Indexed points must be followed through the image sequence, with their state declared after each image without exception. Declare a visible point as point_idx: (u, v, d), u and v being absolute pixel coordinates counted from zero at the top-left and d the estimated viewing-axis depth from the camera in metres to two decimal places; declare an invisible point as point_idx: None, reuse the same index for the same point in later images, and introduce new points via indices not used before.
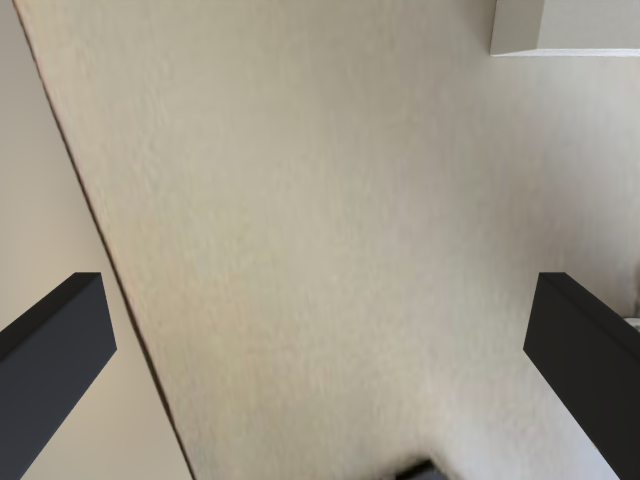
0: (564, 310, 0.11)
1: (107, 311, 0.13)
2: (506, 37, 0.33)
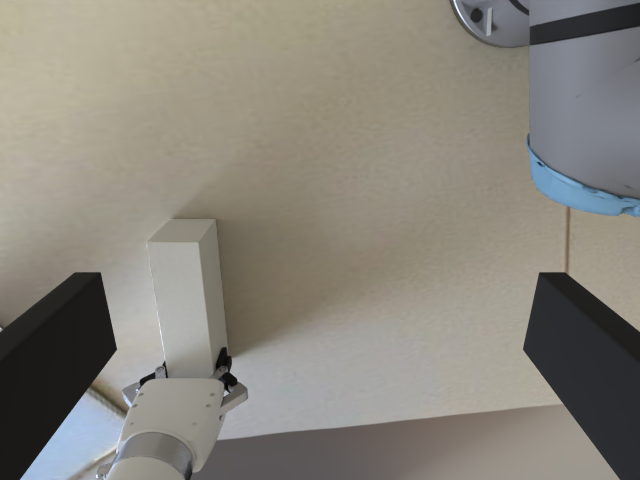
0: (564, 309, 0.11)
1: (107, 311, 0.13)
2: (171, 226, 0.52)
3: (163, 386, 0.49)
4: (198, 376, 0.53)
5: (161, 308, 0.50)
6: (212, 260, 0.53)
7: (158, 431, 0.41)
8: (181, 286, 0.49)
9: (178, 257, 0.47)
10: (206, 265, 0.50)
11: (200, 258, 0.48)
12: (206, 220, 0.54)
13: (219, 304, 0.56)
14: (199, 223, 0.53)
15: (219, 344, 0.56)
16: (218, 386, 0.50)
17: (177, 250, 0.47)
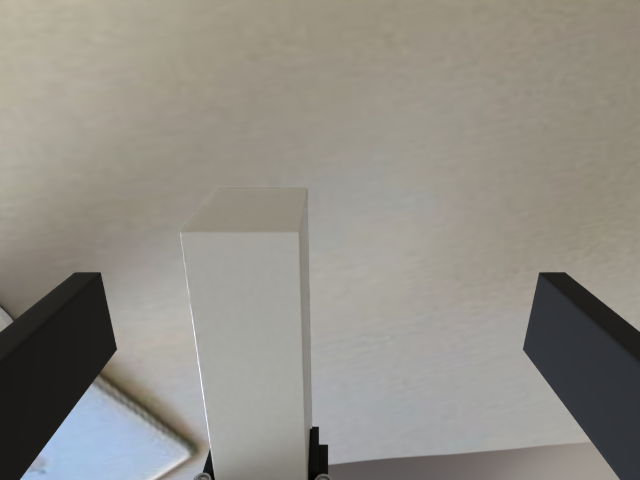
0: (564, 310, 0.11)
1: (107, 311, 0.13)
2: (226, 200, 0.25)
3: None
4: None
5: (209, 372, 0.24)
6: (306, 269, 0.26)
7: None
8: (253, 329, 0.22)
9: (251, 267, 0.21)
10: (303, 282, 0.24)
11: (301, 267, 0.21)
12: (291, 190, 0.27)
13: None
14: (280, 195, 0.26)
15: None
16: None
17: (249, 251, 0.21)
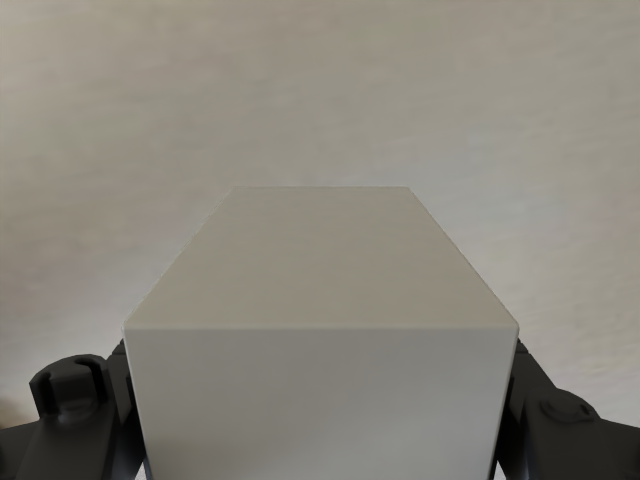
0: None
1: None
2: (251, 214, 0.11)
3: None
4: None
5: None
6: None
7: None
8: None
9: (349, 426, 0.07)
10: None
11: (495, 423, 0.07)
12: (381, 192, 0.13)
13: None
14: (366, 203, 0.12)
15: None
16: None
17: (349, 381, 0.06)
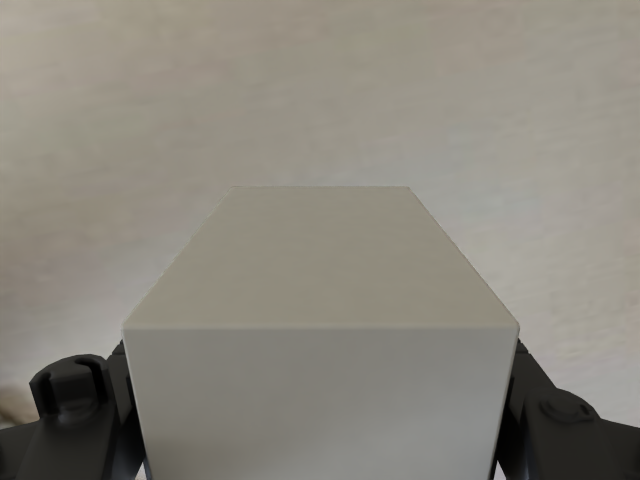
0: None
1: None
2: (251, 214, 0.11)
3: None
4: None
5: None
6: None
7: None
8: None
9: (349, 426, 0.07)
10: None
11: (495, 422, 0.07)
12: (381, 192, 0.13)
13: None
14: (366, 202, 0.12)
15: None
16: None
17: (349, 382, 0.06)
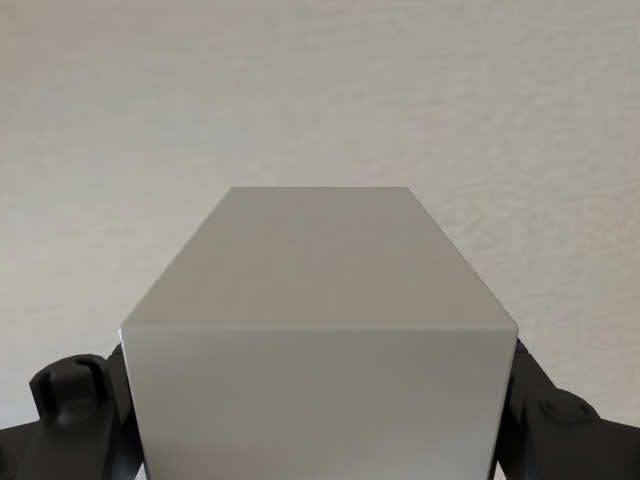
0: None
1: None
2: (250, 215, 0.11)
3: None
4: None
5: None
6: None
7: None
8: None
9: (348, 428, 0.07)
10: None
11: (494, 425, 0.07)
12: (380, 192, 0.13)
13: None
14: (366, 203, 0.12)
15: None
16: None
17: (347, 383, 0.06)
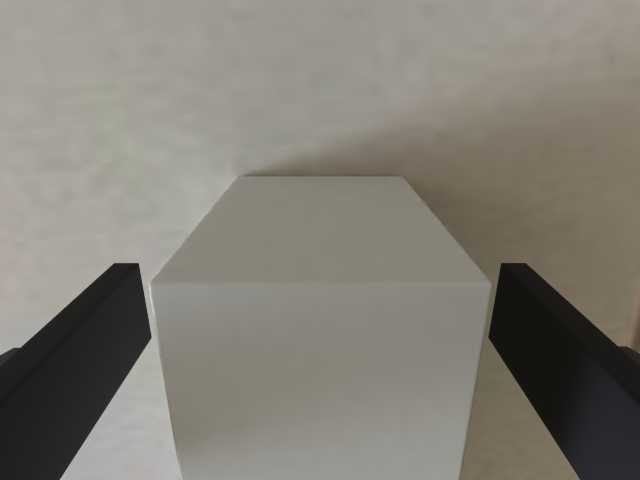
0: (521, 298, 0.12)
1: (143, 301, 0.13)
2: (257, 199, 0.12)
3: None
4: None
5: None
6: None
7: None
8: None
9: (346, 375, 0.08)
10: None
11: (474, 374, 0.08)
12: (377, 180, 0.14)
13: None
14: (363, 189, 0.13)
15: None
16: None
17: (345, 335, 0.07)
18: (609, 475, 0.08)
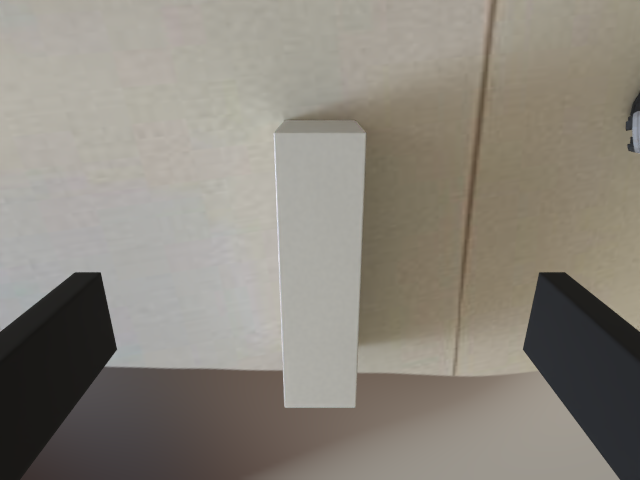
0: (564, 310, 0.11)
1: (107, 311, 0.13)
2: (296, 123, 0.31)
3: None
4: (332, 370, 0.33)
5: (286, 255, 0.30)
6: None
7: None
8: (324, 216, 0.29)
9: (327, 162, 0.27)
10: None
11: None
12: (344, 120, 0.34)
13: None
14: (337, 122, 0.32)
15: None
16: None
17: (327, 148, 0.27)
18: None
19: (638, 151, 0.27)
